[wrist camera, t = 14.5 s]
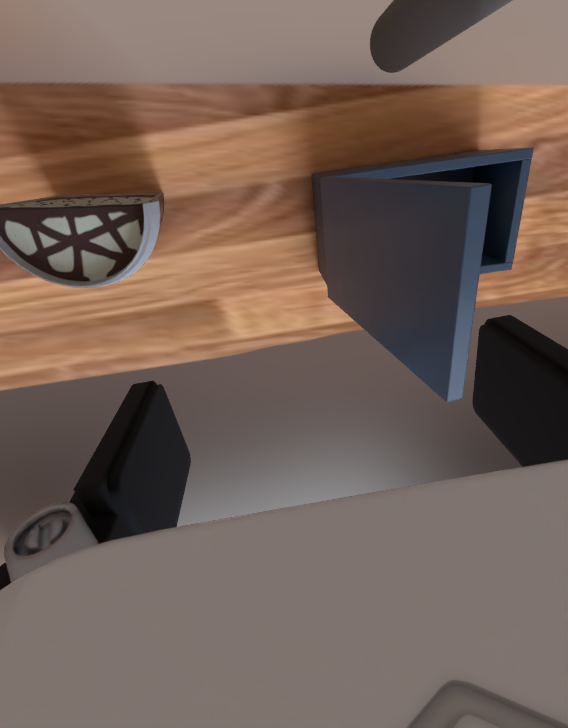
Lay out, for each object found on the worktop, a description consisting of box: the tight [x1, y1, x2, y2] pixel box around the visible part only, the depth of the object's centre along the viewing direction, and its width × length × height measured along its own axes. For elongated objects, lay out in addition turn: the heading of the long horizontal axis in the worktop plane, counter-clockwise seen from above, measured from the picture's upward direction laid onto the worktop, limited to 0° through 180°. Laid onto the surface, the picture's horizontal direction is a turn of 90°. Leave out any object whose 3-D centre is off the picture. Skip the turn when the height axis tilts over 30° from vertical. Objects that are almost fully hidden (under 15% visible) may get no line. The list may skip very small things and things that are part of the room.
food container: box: [0, 193, 164, 288], centre depth 31 cm, size 12×6×10 cm, turn 91°
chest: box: [312, 148, 533, 284], centre depth 33 cm, size 15×9×8 cm, turn 97°
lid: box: [320, 177, 492, 402], centre depth 22 cm, size 16×9×1 cm
